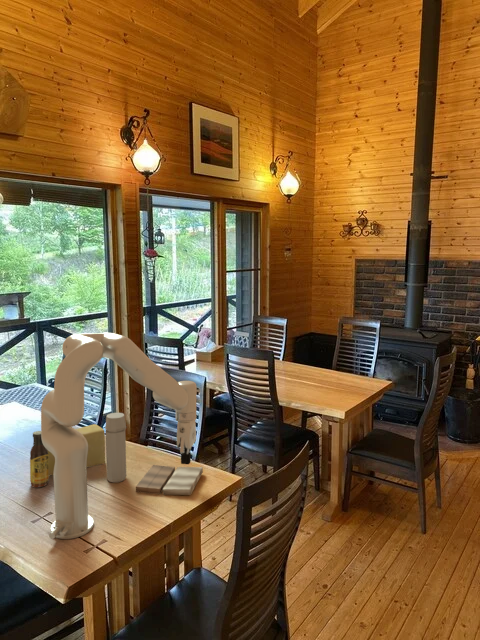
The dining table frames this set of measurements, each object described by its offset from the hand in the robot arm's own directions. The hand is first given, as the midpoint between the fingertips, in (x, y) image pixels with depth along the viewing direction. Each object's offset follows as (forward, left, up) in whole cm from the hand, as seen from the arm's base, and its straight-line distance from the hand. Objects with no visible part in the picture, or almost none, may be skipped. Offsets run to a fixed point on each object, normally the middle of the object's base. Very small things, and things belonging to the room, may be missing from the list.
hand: (185, 463), depth 175 cm
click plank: (0, +1, -8) cm, 8 cm away
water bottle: (0, +27, -9) cm, 28 cm away
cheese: (+6, +47, -9) cm, 48 cm away
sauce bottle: (-10, +53, -9) cm, 54 cm away
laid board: (0, +12, -8) cm, 14 cm away
